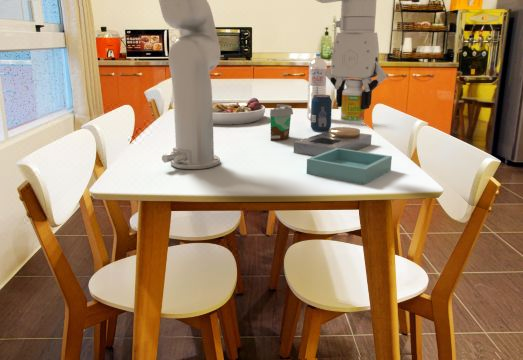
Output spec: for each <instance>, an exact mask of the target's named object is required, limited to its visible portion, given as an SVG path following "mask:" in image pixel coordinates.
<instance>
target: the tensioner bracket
mask: <svg viewBox="0 0 523 360" xmlns="http://www.w3.org/2000/svg"><path fill="white" fill-rule="evenodd" d="M372 136H373V135H372V134H369V133H361V130H360V129H359V128H357V127H349V126H348V127H347V126H336V127H331V128H330V129H329V131H326V132H322V133H321V132H320V133H318V134H316V135H312V136H309V137H306V138H303V139H299V140H296V141H294V142H293V153H295V154H300V155H308V156H312V157H314V156H317V155H319V154H322V153H325V152H327V151H330V150H332V149H335V148H341V149H348V150H354V151H360V150H361V149H364V148H365V147H368V146H371V145H372Z"/></svg>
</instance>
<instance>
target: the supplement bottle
mask: <svg viewBox="0 0 523 360" xmlns="http://www.w3.org/2000/svg"><path fill="white" fill-rule="evenodd" d="M345 86H346V87H345V88H344V90H343V91H342V106H341V107H340V108H341V109H340V111H341V112H340V121H341V122H343V123H345V124H361V123H364V121H365V111H366V109H361V97H362V92H364V88H363V87H364V86H363V82H362V79H355V78H347V79H346V84H345Z"/></svg>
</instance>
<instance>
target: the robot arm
mask: <svg viewBox="0 0 523 360" xmlns="http://www.w3.org/2000/svg"><path fill="white" fill-rule="evenodd" d="M315 1H316V2H318V3H321V4H330V3H334V2H335V3H336V2H341V9H340V12H341V13H340V19H339V20H336V21H335V27H336V28H339V31H340V32H336V35H335V37H334V41H333V42H334V43H333V47H332V55H331V62H330V63H331V64H330V66H329V67H327V69H326V72H325V75H326V79H328V80H329V81H330V83H331V84H332V85H333V88H334V90H336V92H335V102H336V107H337V108H341V106H342V91H343V90H344V89H345V88H346V87H345V86H346V79H361V80H362V82H363V86H362V87H363V89H364V92H362V97H361V109H365V110H367V109H368V110H369V109H370V106H371V104H372V98H373V97H372V95H373V93H372V92H373V91H374V90H375V89H376V88H377V87H378V86H379V85H380V84H381V83H382V82H383V81H385V80H386V79H387V78H388V75H387V73H386V72H385V70H384V69H383V68H382V67H381V65H380V48H379V38H378V32H375V31H376V30H375V29H376V14H377V13H376V11H377V0H315ZM158 2H159V6H160V11H161V15H162V18H163V20H164V22H165V23H166V24H167V25H168V26H169V27H170V28H172V29H175V30H178V31H179V35H180V36H179V37H177V39H175V40H174V41H173V42H172V43H171V46H170V48H169V52H168V67H169V71H170V77H171V84H172V96H173V98H172V99H173V110H174V111H173V112H174V113H173V114H174V133H175V136H174V137H175V147H173V148H172V151H171V153H167V154H163V155H162V156H161V160H162V162H163V163H165V164H166V163H169V162H170V165H171V167H174V168H177V169H183V170H201V169H203V170H204V169H210V168H213V167H216V166H218V165H219V164H220V163H221V158H220V157H219V156H218V155H216V154H215V152H214V151H215V148H214V147H215V146H214V124H213V103H212V102H213V87H212V81H211V74H210V72H211V71H213V70H214V69H216V67H217V66H218V65H219V62H220V60H221V46H220V43H219V42H220V41H219V37H218V33H217V29H216V26H215V20H214V16H213V12H212V9H211V6H210V4H209V2H208V0H158ZM374 78H375V79H374Z"/></svg>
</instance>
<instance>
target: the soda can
mask: <svg viewBox="0 0 523 360" xmlns="http://www.w3.org/2000/svg"><path fill="white" fill-rule="evenodd" d="M332 104H333V100H332V98H331V95H330V94H326V95H314V97H313V99H312V102H311V120H310V129H311V130H312V131H313V132H319V133H321V132H322V133H325V132H328V131H330V129H331V128H332V107H333V105H332Z"/></svg>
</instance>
